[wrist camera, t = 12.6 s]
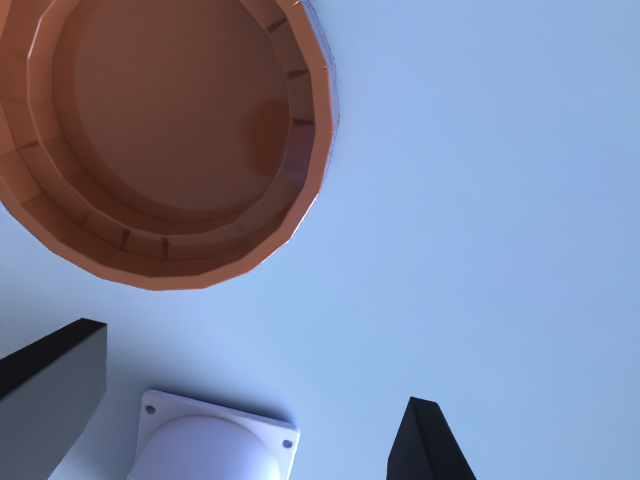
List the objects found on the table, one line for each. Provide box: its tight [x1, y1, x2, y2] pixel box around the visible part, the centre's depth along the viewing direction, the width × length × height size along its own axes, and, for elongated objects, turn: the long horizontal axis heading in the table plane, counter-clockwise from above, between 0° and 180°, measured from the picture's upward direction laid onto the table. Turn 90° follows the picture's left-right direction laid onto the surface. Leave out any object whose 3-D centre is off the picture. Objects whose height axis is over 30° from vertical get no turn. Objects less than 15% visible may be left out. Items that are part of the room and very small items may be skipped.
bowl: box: [0, 0, 340, 291], centre depth 18 cm, size 13×13×4 cm
